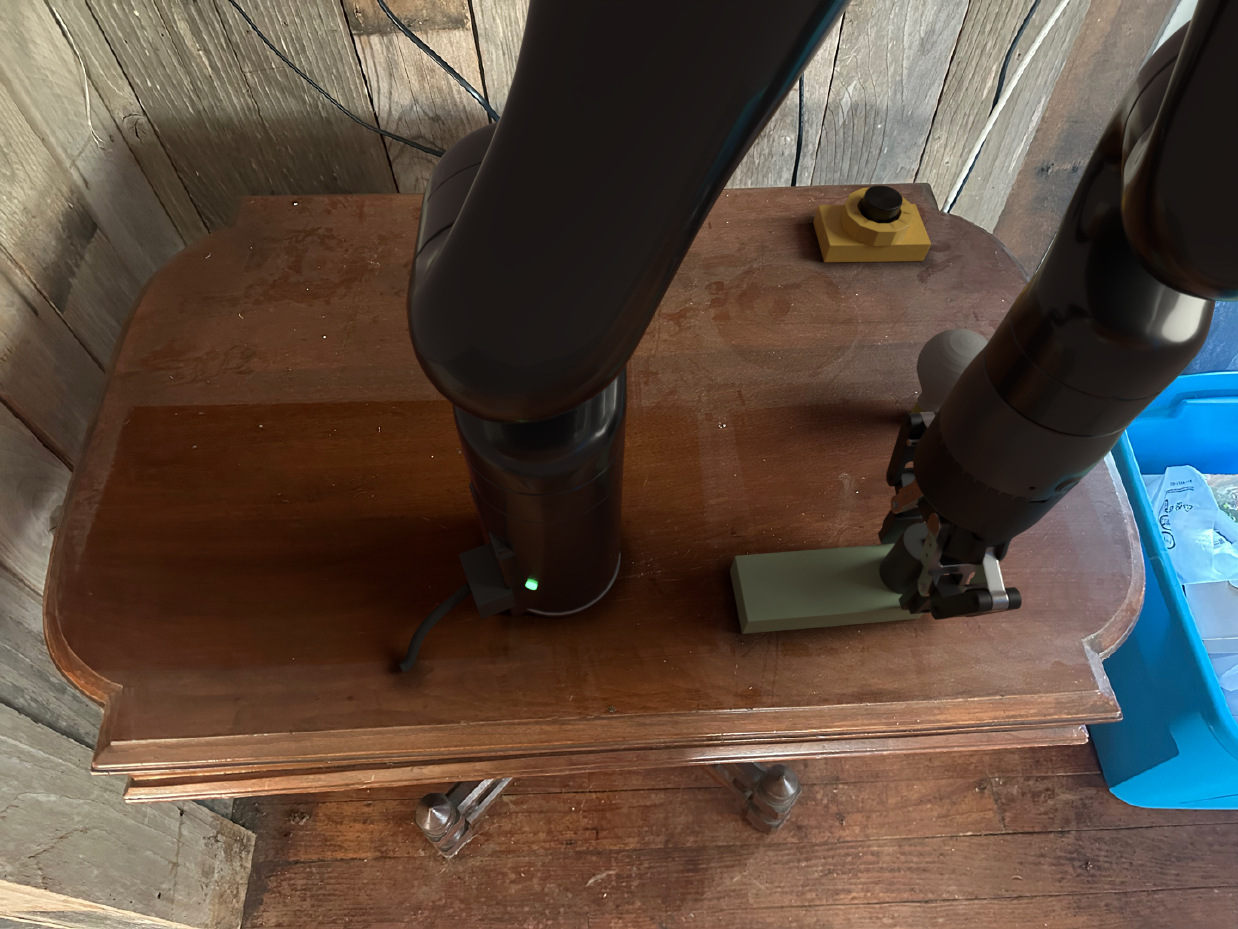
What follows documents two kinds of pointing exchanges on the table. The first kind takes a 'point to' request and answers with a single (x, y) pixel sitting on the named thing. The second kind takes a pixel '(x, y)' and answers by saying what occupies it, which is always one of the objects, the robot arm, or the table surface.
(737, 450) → the table surface
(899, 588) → the dimmer knob
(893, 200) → the button
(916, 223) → the switch box
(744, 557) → the dimmer panel
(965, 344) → the light bulb
